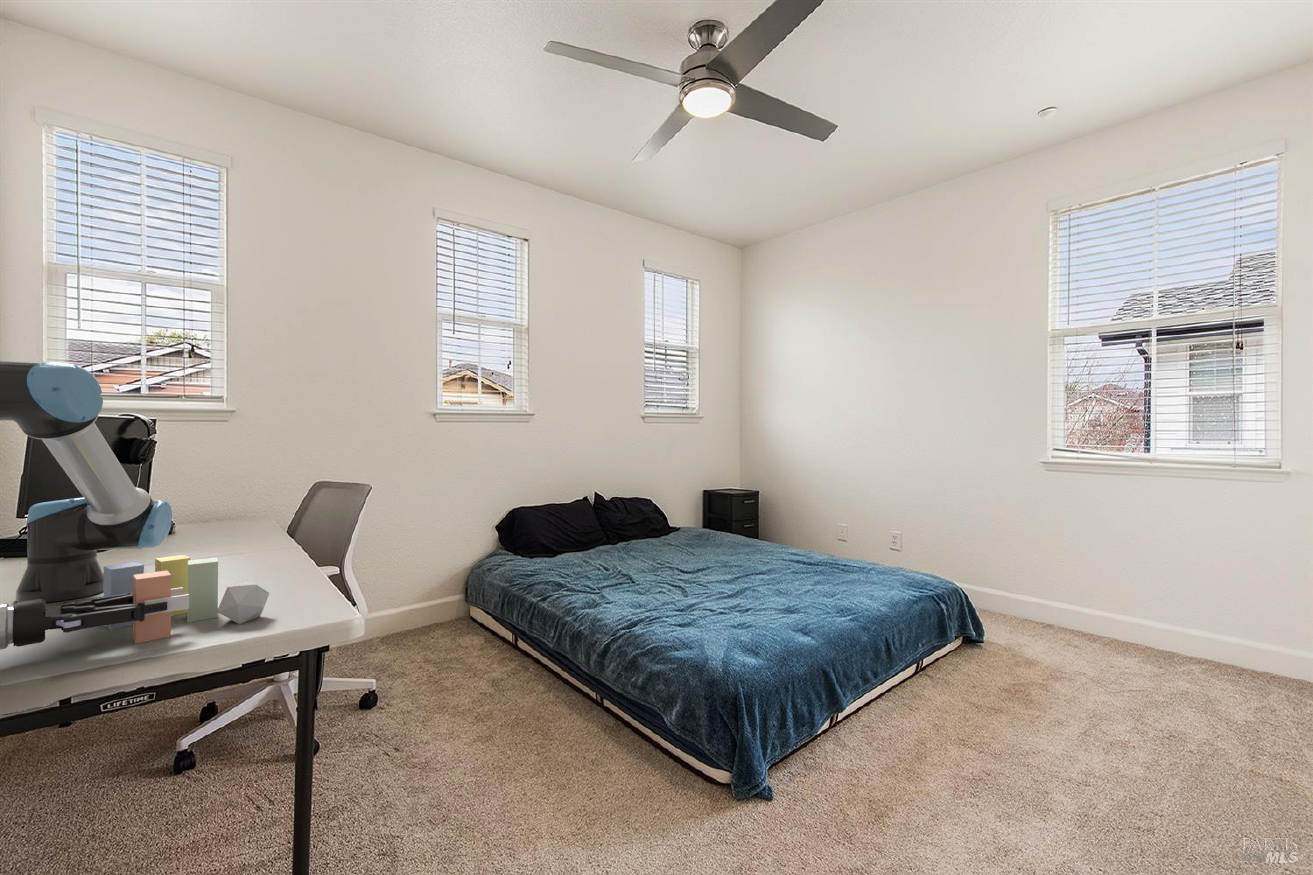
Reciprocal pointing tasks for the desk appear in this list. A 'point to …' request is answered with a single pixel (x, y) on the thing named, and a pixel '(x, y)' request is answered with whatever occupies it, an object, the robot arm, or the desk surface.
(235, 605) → the die
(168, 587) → the terracotta pillar
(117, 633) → the desk surface
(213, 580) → the sage pillar
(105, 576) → the slate pillar
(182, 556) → the mustard pillar
